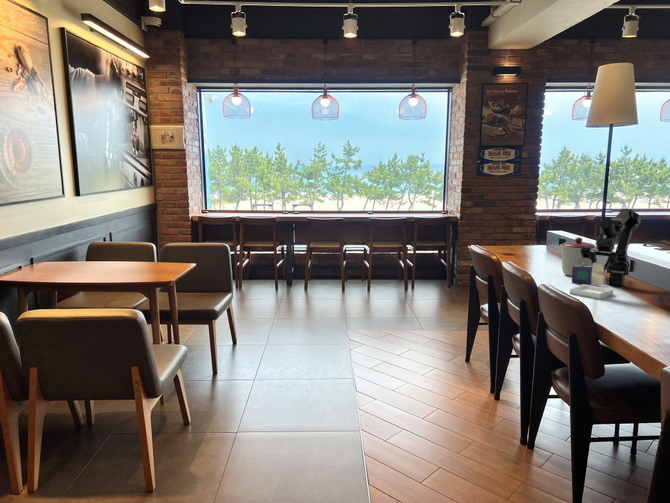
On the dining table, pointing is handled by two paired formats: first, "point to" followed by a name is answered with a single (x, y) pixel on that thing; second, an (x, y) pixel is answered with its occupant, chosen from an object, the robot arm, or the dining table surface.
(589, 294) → the tray
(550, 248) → the dining table surface
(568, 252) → the canister
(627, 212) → the robot arm
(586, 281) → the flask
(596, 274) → the maple block
